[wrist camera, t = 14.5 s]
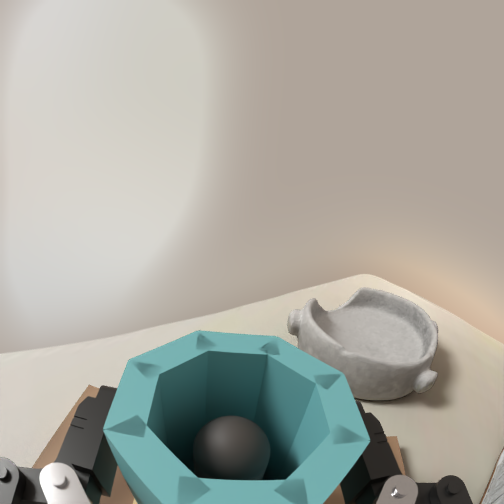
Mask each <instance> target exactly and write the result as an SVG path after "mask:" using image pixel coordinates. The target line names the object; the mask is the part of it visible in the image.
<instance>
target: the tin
mask: <svg viewBox="0 0 504 504" xmlns="http://www.w3.org/2000/svg"><path fill="white" fill-rule="evenodd" d="M479 504H504V448H503V450H502V452H501V454H500V456H499V458H498V460H497V463H496V465H495V468H494V470H493V473H492V475H491V478H490V480H489V483H488V485H487V488H486V490H485V492H484V494H483V497H482V499H481V501H480V503H479Z"/></svg>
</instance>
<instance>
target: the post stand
mask: <svg viewBox="0 0 504 504" xmlns="http://www.w3.org/2000/svg"><path fill="white" fill-rule="evenodd" d="M98 391H99V388H96V387H94V386H91V385H89V386H88V387H87V388H86V390H85V391H84V393H83V394H82V395H81V397H80V398H79V400H78V401H77V402H76V404H75V405H74V407H73V408H72V409H71V411H70V412H69V414H68V415H67V416H66V418H65V419H64V421H63V422H62V424H61V425H60V427H59V428H58V429H57V431H56V432H55V434H54V435H53V437H52V438H51V440H50V441H49V443H48V444H47V446H46V447H45V449H44V450H43V452H42V453H41V455H40V456H39V458H38V459H37V461H36V462H35V464H34V465H33V467H32V468H36V469H40V468H44V467H45V466H47V465H48V464H51V463H53V462H54V461H55V460H56V458H57V456H58V453H59V451H60V448H61V446H62V443H63V441H64V438H65V436H66V433H67V431H68V429H69V426H70V424H71V421H72V419H73V418H74V414H75V412H76V410H77V407H78V405H79V404H80V403H81V402H82V401H83V400H84V399H85V398H86V397H88V396H90V397H94V398H96V396H97V393H98ZM386 438H387V442H389V445H390V447H391V449H392V452H393V454H394V456H395V459H396V461H397V463H398V466H399V468H400V471H401V473H402V474H403V475H405V476H406V474H405V469H404V465H403V461H402V456H401V452H400V448H399V444H398V440H397V436H392V437H386ZM269 459H270V443H269V440H268V438H267V436H266V434H265V433H264V431H263V430H262V429H261V428H260V427H259V426H258V425H257V424H256V423H254V422H253V421H251V420H249V419H246V418H244V417H240V416H222V417H218V418H216V419H213V420H211V421H209V422H208V423H207V424H205V425H204V426H203V427H202V428H201V429H200V430H199V432H198V433H197V435H196V437H195V440H194V444H193V464H194V475H195V476H197V477H198V478H206V479H221V480H262V478H263V476H264V473H265V470H266V468H267V465H268V462H269ZM99 504H137V502H136V500H135V498H134V496H133V494H132V493H131V491H130V489H129V487H128V485H127V483H126V481H125V479H124V477H123V475H122V473H121V471H120V468H119V466H117V470H116V474H115V478H114V482H113V487H112V491H111V496H110V497H107V496H103V495H101V498H100V503H99ZM323 504H345V501H344V497H343V494H342V490H341V486H340V484H339V485H338V486H337V487H336V489H335V490H334V491H333V492H332V493H331V495H330V496H329V497H328V498H327V499H326V501H325V502H324V503H323Z"/></svg>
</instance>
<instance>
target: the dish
mask: <svg viewBox="0 0 504 504" xmlns="http://www.w3.org/2000/svg"><path fill="white" fill-rule="evenodd" d="M287 326H288V331H289V333H290V334H291V335H295V336H297V338H298V349H300V350H302V351H304V352H306V353H307V354H309V355H311V356H313V357H315V358H316V359H318V360H320V361H322V362H324V363H325V364H327V365H329V366H331V367H333V368H335V369H337V370H338V371H340V372H342V373H343V374H344V375H345V377H346V380H347V382H348V385H349V387H350V389H351V392H352V394H353V397H355V398H360V399H366V400H391V399H396V398H400V397H403V396H405V395H407V394H409V393H410V392H412V391H413V390H415V391H416V392H417V393H423V392H425V391H427V390H429V389H430V388H431V387H432V386H433V384H434V382H435V380H436V378H437V376H438V373H437V372H435V371H432V370H431V369H430V365H431V363H432V360H433V357H434V355H435V352H436V348H437V344H438V326H437V324H436V322H434V321H432V320H431V319H430V317H429V316H428V314H427V313H426V312H425V311H424V310H423V309H422V308H420V307H419V306H418V305H416V304H415V303H413V302H411V301H409V300H407V299H404V298H402V297H400V296H397V295H394V294H392V293H389V292H385V291H382V290H376V289H371V288H365V287H364V288H360V289H359V290H358V291H356V292H355V293H354V294H353V296H352V297H351V298H350V299H349V300H348V301H347V302H346V303H344V304H343V305H341V306H340V307H338V308H336V309H335V310H331V311H325V310H324V309H323V308H322V307H321V306H320V305H319V304H318V301H317V300H316V299H315V298H313V299H310V300H309V301H308V302H307V303H306V305H305V306H304V308H303V309H302V310H299V309H295V310H293V311H292V312H291V313H290V314H289V318H288V323H287Z"/></svg>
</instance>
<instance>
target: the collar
mask: <svg viewBox="0 0 504 504" xmlns="http://www.w3.org/2000/svg"><path fill="white" fill-rule="evenodd" d="M222 416H240V417H244V418H246V419H249V420H251V421H253V422H254V423H256V424H257V425H258V426H259V427H260V428H261V429H262V430H263V431H264V433H265V434H266V436H267V438H268V440H269V443H270V459H269V462H268V465H267V468H266V470H265V473H264V476H263V478H262V480H221V479H206V478H198V477H197V476H195V475H194V464H193V444H194V440H195V437H196V435H197V433H198V432H199V430H200V429H201V428H202V427H203V426H204V425H205V424H207V423H208V422H209V421H211V420H213V419H216V418H218V417H222ZM103 431H104V434H105V436H106V439H107V441H108V444H109V446H110V448H111V451H112V453H113V455H114V458H115V460H116V462H117V464H118V466H119V468H120V471H121V473H122V475H123V477H124V479H125V481H126V483H127V485H128V487H129V489H130V491H131V493H132V494H133V496H134V498H135V500H136V502H137V504H323V503H324V502H325V501H326V499H327V498H328V497H329V496H330V495H331V493H332V492H333V491H334V490H335V489H336V487H337V486H338V485H339V484H340V482H341V481H342V480H343V478H344V477H345V476H346V475H347V473H348V472H349V471H350V469H351V468H352V467H353V465H354V464H355V462H356V461H357V460H358V458H359V457H360V455H361V454H362V453H363V451H364V450H365V448H366V447H367V445H368V444H369V442H370V437H369V435H368V432H367V430H366V427H365V425H364V422H363V419H362V417H361V414H360V412H359V409H358V407H357V404H356V402H355V399H354V397H353V394H352V392H351V389H350V387H349V385H348V382H347V380H346V377H345V375H344V374H343V373H342V372H340V371H338V370H337V369H335V368H333V367H331V366H329V365H327V364H325V363H324V362H322V361H320V360H318V359H316V358H315V357H313V356H311V355H309V354H307V353H306V352H304V351H302V350H300V349H298V348H297V347H295V346H293V345H291V344H290V343H288V342H286V341H284V340H283V339H281V338H279V337H276V336H264V335H248V334H234V333H221V332H210V331H195V332H193V333H191V334H188V335H186V336H184V337H181V338H179V339H177V340H175V341H172V342H170V343H167V344H165V345H163V346H160V347H158V348H156V349H153V350H151V351H148V352H146V353H144V354H141V355H139V356H136V357H134V358H131V359H129V360H128V362H127V365H126V368H125V370H124V373H123V375H122V378H121V381H120V383H119V386H118V388H117V391H116V394H115V397H114V399H113V402H112V405H111V407H110V410H109V413H108V416H107V419H106V422H105V425H104V427H103Z"/></svg>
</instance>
